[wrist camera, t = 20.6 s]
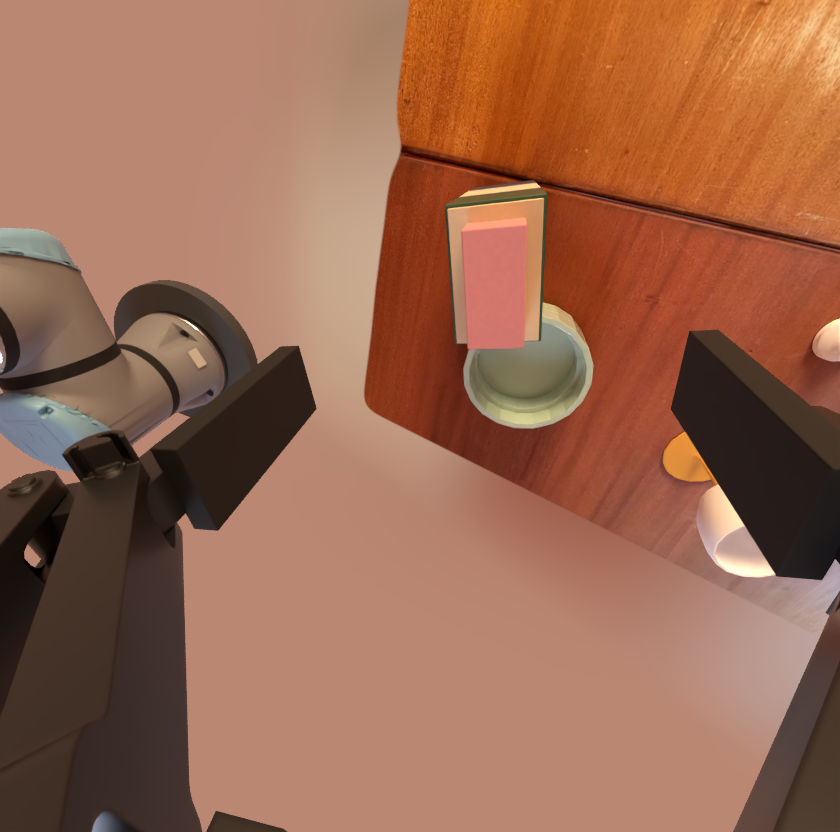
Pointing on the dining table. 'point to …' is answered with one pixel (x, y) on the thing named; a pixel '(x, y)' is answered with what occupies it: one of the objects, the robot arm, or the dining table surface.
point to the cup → (716, 515)
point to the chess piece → (828, 342)
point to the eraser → (495, 283)
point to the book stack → (499, 195)
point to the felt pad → (534, 220)
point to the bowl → (532, 375)
